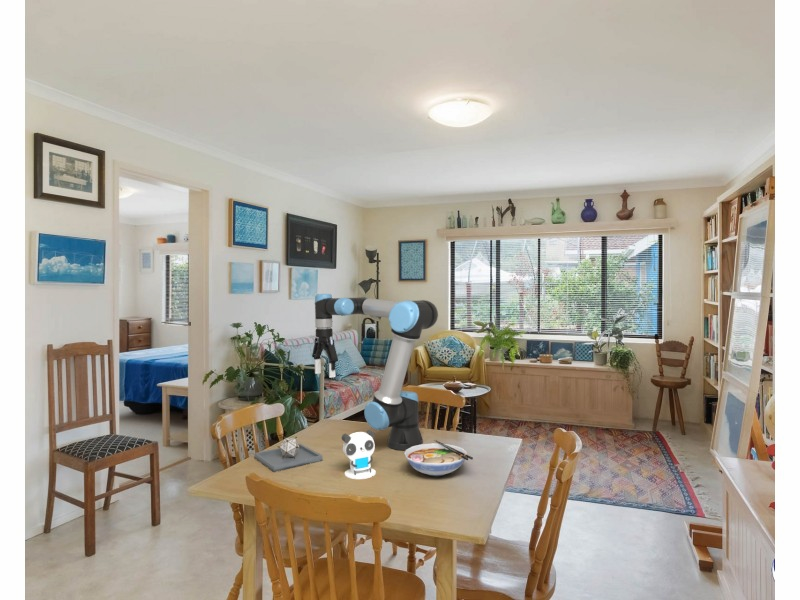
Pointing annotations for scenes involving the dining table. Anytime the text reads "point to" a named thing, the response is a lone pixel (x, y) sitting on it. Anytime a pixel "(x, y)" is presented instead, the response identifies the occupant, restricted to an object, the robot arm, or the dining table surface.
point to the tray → (287, 458)
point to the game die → (289, 447)
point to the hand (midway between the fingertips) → (325, 375)
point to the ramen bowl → (436, 458)
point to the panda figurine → (359, 454)
